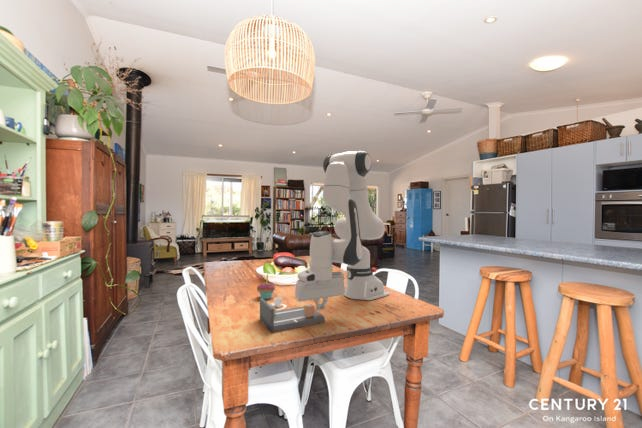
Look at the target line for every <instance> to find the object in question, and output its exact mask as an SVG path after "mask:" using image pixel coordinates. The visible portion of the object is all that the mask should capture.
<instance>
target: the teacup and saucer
mask: <svg viewBox="0 0 642 428" xmlns="http://www.w3.org/2000/svg"><path fill="white" fill-rule="evenodd" d="M283 302H284V298H281V297H278V296H277V297H274V298H273V303H274V304H275V305H276V311H280V310H285V309H286V308H287V304H284V303H283ZM281 306H283V307H281ZM280 307H281V308H280Z"/></svg>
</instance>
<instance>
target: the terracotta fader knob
mask: <svg viewBox="0 0 642 428" xmlns="http://www.w3.org/2000/svg"><path fill="white" fill-rule="evenodd" d="M303 307H304V315H305V316H307V317H311V316H315V310H316V309H315V306H314V304H311V303H310V304H304V305H303Z"/></svg>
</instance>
